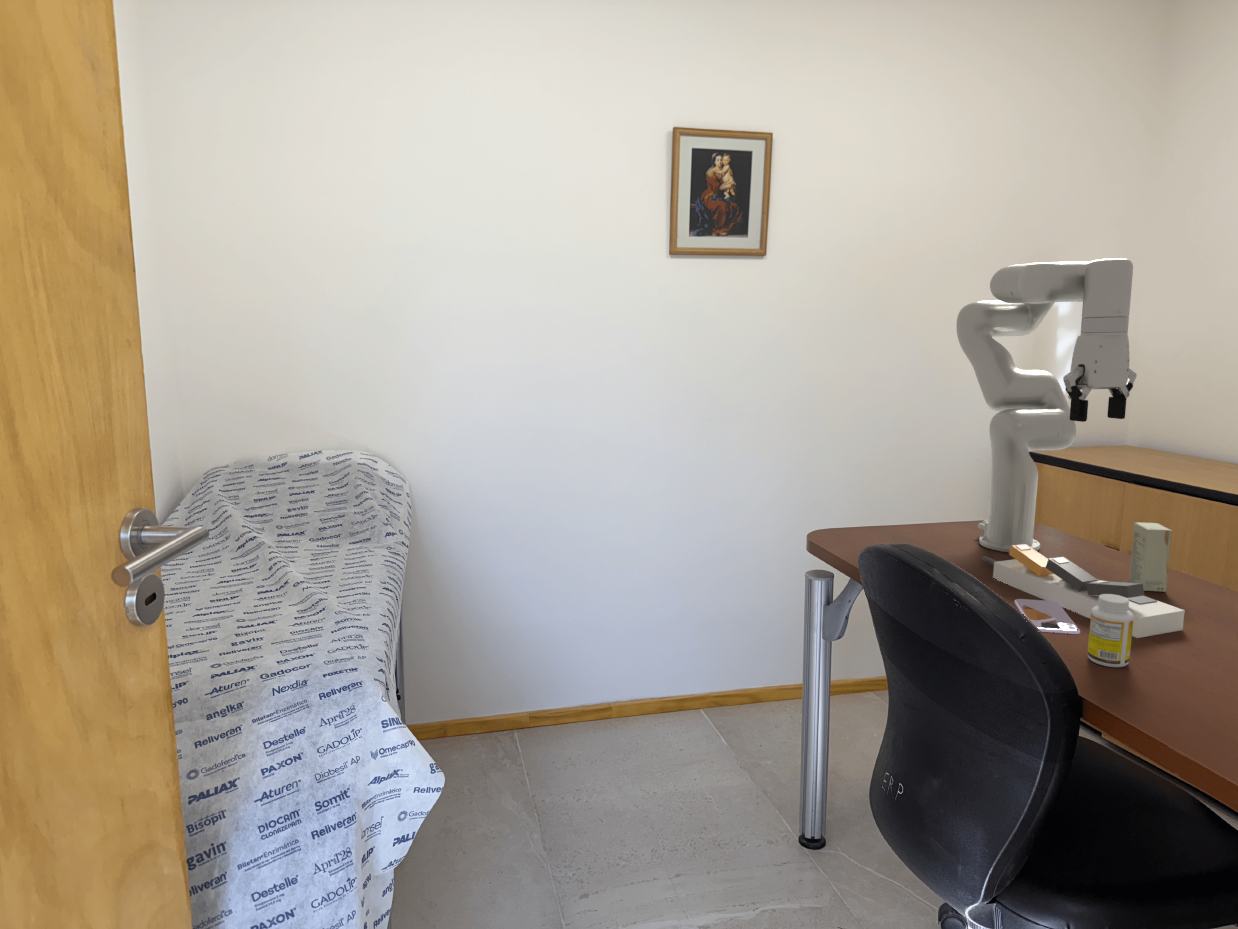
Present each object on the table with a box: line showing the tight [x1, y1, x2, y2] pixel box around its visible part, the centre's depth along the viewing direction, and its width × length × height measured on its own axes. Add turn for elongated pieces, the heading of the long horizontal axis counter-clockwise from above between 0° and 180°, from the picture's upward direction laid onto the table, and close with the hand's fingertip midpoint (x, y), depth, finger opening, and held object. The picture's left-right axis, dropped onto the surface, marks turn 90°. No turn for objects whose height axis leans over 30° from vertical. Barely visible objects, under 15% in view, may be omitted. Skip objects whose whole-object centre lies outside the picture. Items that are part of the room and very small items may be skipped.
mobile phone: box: [1014, 598, 1081, 635], centre depth 141 cm, size 8×1×15 cm
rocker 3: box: [1086, 580, 1145, 598], centre depth 137 cm, size 8×4×2 cm, turn 17°
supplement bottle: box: [1087, 594, 1134, 668], centre depth 122 cm, size 6×6×10 cm
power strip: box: [981, 556, 1186, 639], centre depth 151 cm, size 40×10×5 cm, turn 18°
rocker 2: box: [1046, 556, 1099, 591], centre depth 146 cm, size 8×4×2 cm, turn 18°
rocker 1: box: [1008, 544, 1054, 576], centre depth 154 cm, size 8×4×2 cm, turn 18°
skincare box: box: [1128, 521, 1173, 593], centre depth 154 cm, size 6×4×12 cm
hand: (1097, 419), depth 150 cm, fingers open, 9 cm apart
